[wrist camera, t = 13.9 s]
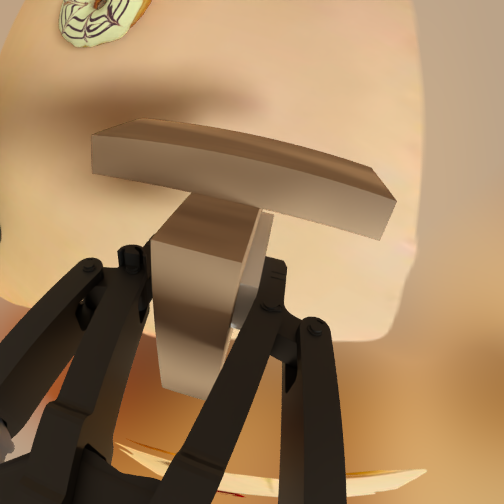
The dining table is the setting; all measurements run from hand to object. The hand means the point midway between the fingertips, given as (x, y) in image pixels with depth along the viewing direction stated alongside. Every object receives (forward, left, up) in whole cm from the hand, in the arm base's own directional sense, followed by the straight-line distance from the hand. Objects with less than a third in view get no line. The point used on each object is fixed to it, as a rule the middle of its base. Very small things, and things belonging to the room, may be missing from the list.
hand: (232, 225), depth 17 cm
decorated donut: (-18, +17, -12) cm, 27 cm away
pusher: (0, -1, -1) cm, 1 cm away
